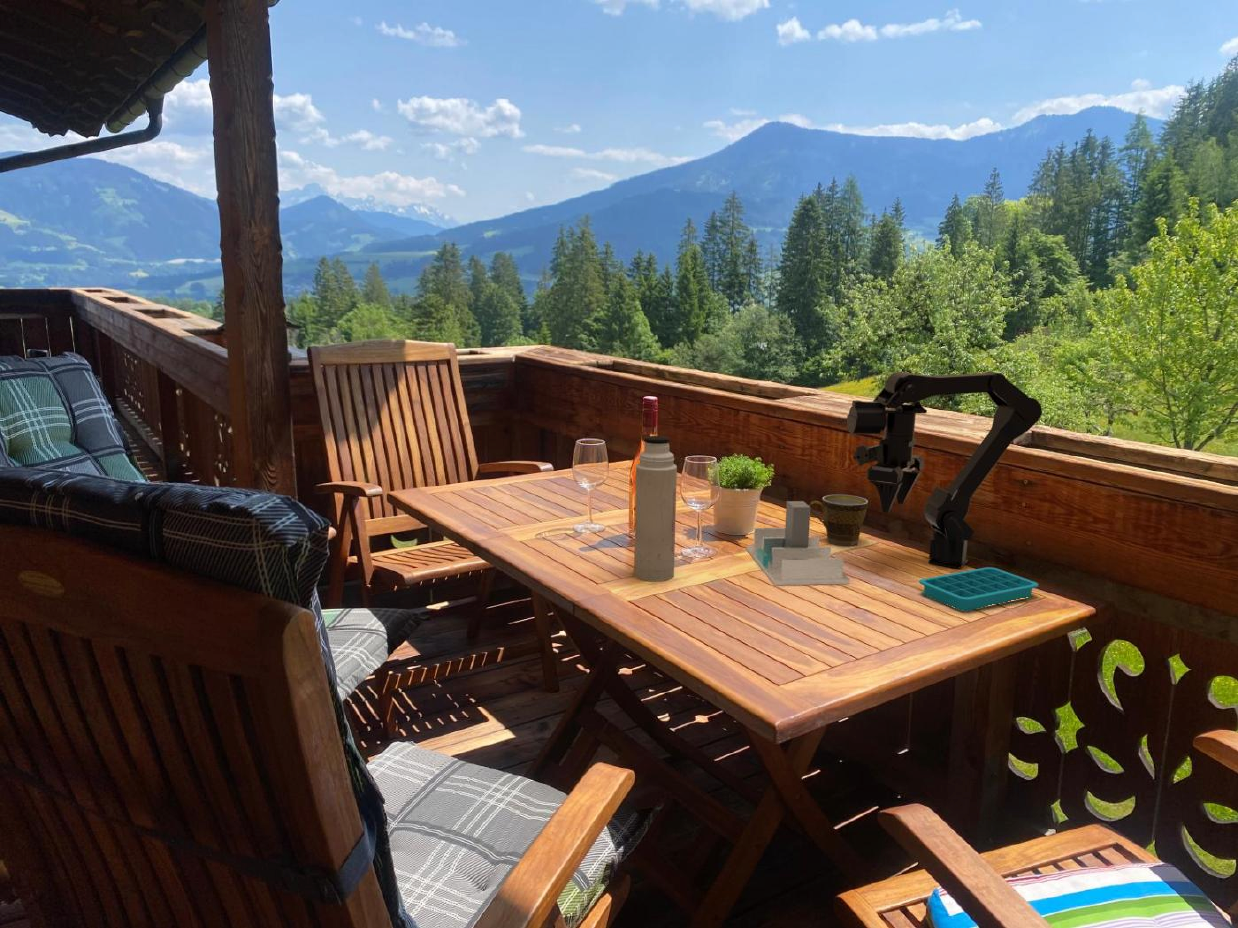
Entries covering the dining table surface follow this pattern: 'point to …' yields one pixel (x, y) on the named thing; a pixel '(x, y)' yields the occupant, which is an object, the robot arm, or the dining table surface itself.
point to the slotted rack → (795, 560)
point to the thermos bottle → (655, 511)
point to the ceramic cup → (842, 518)
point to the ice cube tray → (977, 588)
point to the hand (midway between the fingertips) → (893, 508)
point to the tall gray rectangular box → (797, 524)
